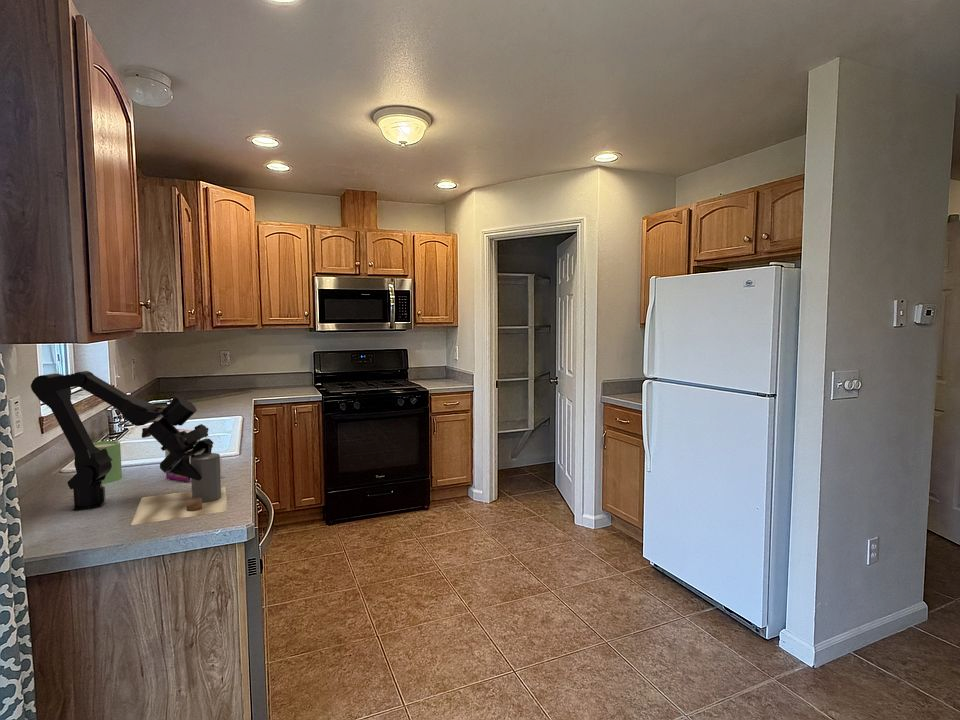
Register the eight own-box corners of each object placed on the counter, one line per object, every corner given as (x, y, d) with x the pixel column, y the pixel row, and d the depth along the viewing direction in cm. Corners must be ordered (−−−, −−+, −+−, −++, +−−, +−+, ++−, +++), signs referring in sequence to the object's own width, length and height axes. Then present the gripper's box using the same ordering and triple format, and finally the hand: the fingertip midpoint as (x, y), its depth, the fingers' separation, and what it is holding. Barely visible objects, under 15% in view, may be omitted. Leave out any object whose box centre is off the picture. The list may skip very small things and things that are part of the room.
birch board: (130, 529, 133) (130, 525, 133) (142, 500, 154) (141, 497, 154) (227, 514, 143) (227, 510, 143) (225, 489, 164) (225, 486, 164)
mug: (109, 474, 182) (108, 439, 181) (128, 477, 178) (126, 442, 177) (68, 484, 171) (66, 447, 170) (87, 488, 166) (85, 450, 166)
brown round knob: (186, 512, 142) (185, 503, 142) (186, 507, 146) (186, 498, 145) (202, 509, 144) (201, 500, 144) (202, 505, 147) (202, 496, 147)
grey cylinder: (192, 504, 148) (190, 460, 147) (192, 496, 155) (191, 454, 154) (221, 500, 152) (219, 457, 151) (220, 493, 158) (219, 452, 157)
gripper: (168, 423, 142) (210, 463, 143) (205, 412, 161) (243, 447, 161) (141, 452, 143) (183, 492, 144) (181, 437, 162) (218, 472, 162)
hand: (209, 474), depth 153 cm, fingers open, 9 cm apart
